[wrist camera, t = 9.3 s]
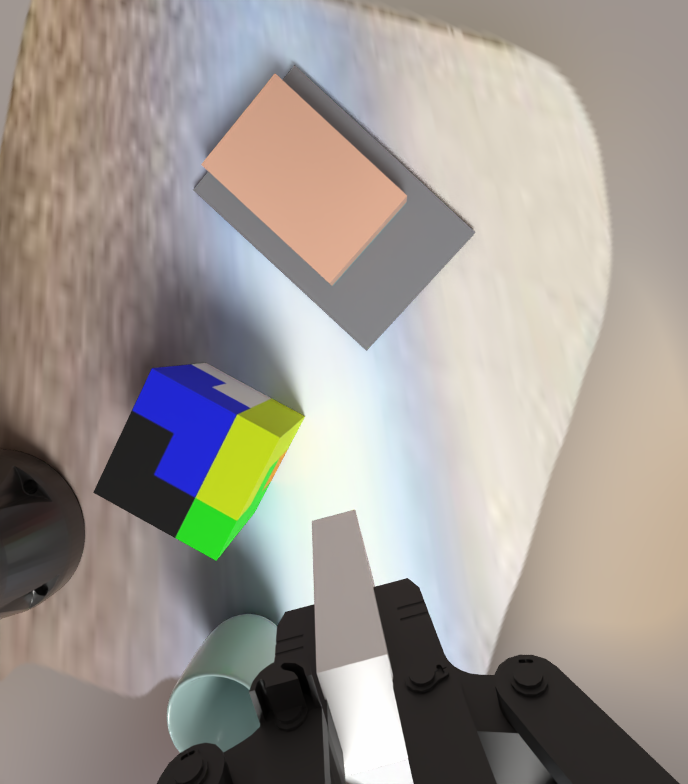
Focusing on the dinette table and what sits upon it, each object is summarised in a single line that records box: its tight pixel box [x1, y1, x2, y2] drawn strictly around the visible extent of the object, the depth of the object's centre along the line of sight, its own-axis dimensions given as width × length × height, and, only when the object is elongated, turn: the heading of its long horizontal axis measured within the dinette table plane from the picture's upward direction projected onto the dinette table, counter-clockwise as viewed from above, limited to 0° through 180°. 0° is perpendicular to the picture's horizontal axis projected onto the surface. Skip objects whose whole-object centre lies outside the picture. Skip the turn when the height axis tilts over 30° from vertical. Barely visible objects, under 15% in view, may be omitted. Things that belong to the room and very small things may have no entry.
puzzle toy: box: [93, 363, 305, 561], centre depth 39 cm, size 10×10×10 cm
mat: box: [194, 65, 475, 351], centre depth 41 cm, size 20×13×1 cm, turn 47°
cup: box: [167, 614, 277, 753], centre depth 40 cm, size 8×8×10 cm
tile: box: [201, 74, 407, 286], centre depth 39 cm, size 2×9×14 cm
